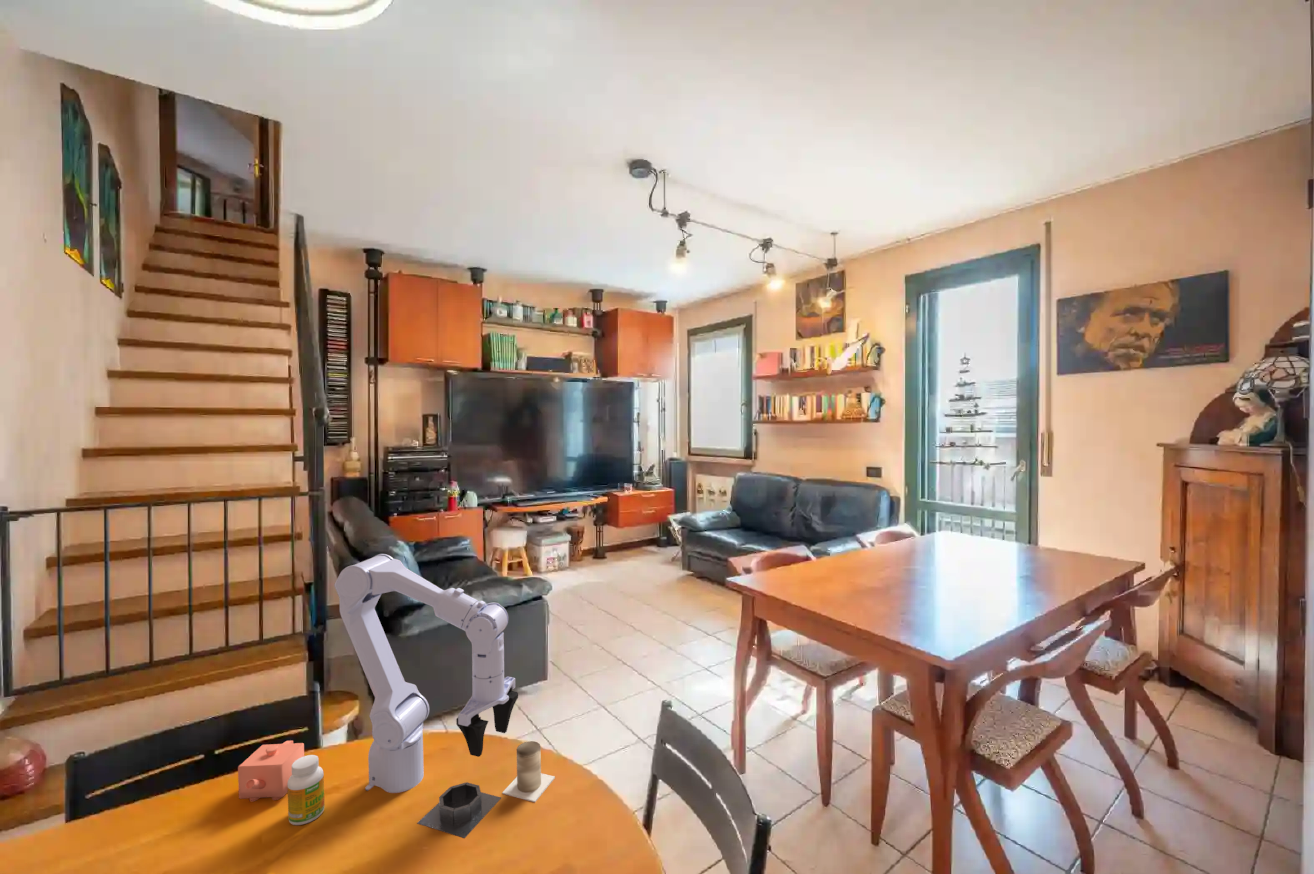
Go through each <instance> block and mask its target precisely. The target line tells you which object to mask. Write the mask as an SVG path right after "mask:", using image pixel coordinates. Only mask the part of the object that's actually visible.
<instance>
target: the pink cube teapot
mask: <svg viewBox="0 0 1314 874" xmlns="http://www.w3.org/2000/svg"><path fill="white" fill-rule="evenodd" d="M304 756H305V743H303V742H296V743H294V740H286V741H284V742H283V743H273V744H271V743H270V744H262V745H261V746H259V747H258V748H257V749H256V750H255V751H253V753H251V754H250V756H248V758H246V759H245V760H244V761H243V762H242V763H240V764H239V765H238V766H237V780H238V781H237V782H238V799H243V800H244V799H249V801H250V802H256V801H257V800H259V799H261V798H271V800H272V801H276V800H280V799H282V798H283V797H285V795H286V794H288V787H287V786H288V780H289V778H290V776H291V775H292V764H293V763H294V762H295V761H296V760H297V759H299V758H301V757H304Z"/></svg>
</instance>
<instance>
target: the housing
mask: <svg viewBox="0 0 1314 874" xmlns="http://www.w3.org/2000/svg"><path fill="white" fill-rule="evenodd" d="M438 798H439V799H438V801H439V802H437V804H436V805H435V806H434V807H432V808H431V809H430V810H429V811H428V812H427V813H426V814H425V815H423V817H422V818H421V819H419V820H418V822H417V823H416V824H417V825H421V826H424V827H426V828H427V827H428V828H430V829H434V830H436V831H439V832H442V833H443V832H444V833H446V834H450V835H453V836H456V837H459V838H462V839H465V838H466V837H467V836H468V835H469V834H470V833H471V832H472V831H473V829H474V828H476V827H477V825H478V824H480V822H481V821H482V820H483V819H484V818H485V817H486V815H487V814H488V813H489V812H490V811H492V809H493V808H494V807H495V806H496V805H497V803H498V802H499V801H500V800H501V799H502V797H500V796H497V795H493V794H490V793H486V792H481V788H480V785H478V784H475V783H471V782H468V781H466V782H462V783H460V784H456V785H452V786H450V787H448V788H447V789H446V790H445V791H444V792H443V793H442V794H441V795H440V796H438Z"/></svg>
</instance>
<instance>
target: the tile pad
mask: <svg viewBox="0 0 1314 874" xmlns="http://www.w3.org/2000/svg"><path fill="white" fill-rule="evenodd" d="M555 779H556V777H555V775H550V774H546V773H542V772H541V785H540V787H539V788H538V789H537V790H535V791H532V792H528V793H525V792H521V791H519V790H518V788H517V776H516V777H515V778H514V779H513V780H512V782H510V784H509V785H508V786H507V787H506V788H505V789H504V790H503V791H502V793H501V794H503V795H506V796H510V797H512V798H513V797H514V798H518V799H521V800H524V801H528V802H532V803H536V802H537V801H538V800H539V798H540V797H541V796H542V795H543V794H544V792H545V791H546V790H547V788H548V787H549V786H550V785H551V784H552V783H553V781H554V780H555Z"/></svg>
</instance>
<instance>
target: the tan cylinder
mask: <svg viewBox="0 0 1314 874" xmlns="http://www.w3.org/2000/svg"><path fill="white" fill-rule="evenodd" d="M541 749H542V748H541V744H540V743H539V742H537V741H533V740H532V741H530V740H529V741H526V742H525V741H524V742H522V743H520V744H519V745H518V746H517V748H516V777H517V788H518V790H519V791H521V792H525V793H528V792H532V791H535V790H537V789H538V788H539V787H540V785H541V773H542V764H541V762H542V761H541V760H542V759H541V751H542V750H541Z"/></svg>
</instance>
